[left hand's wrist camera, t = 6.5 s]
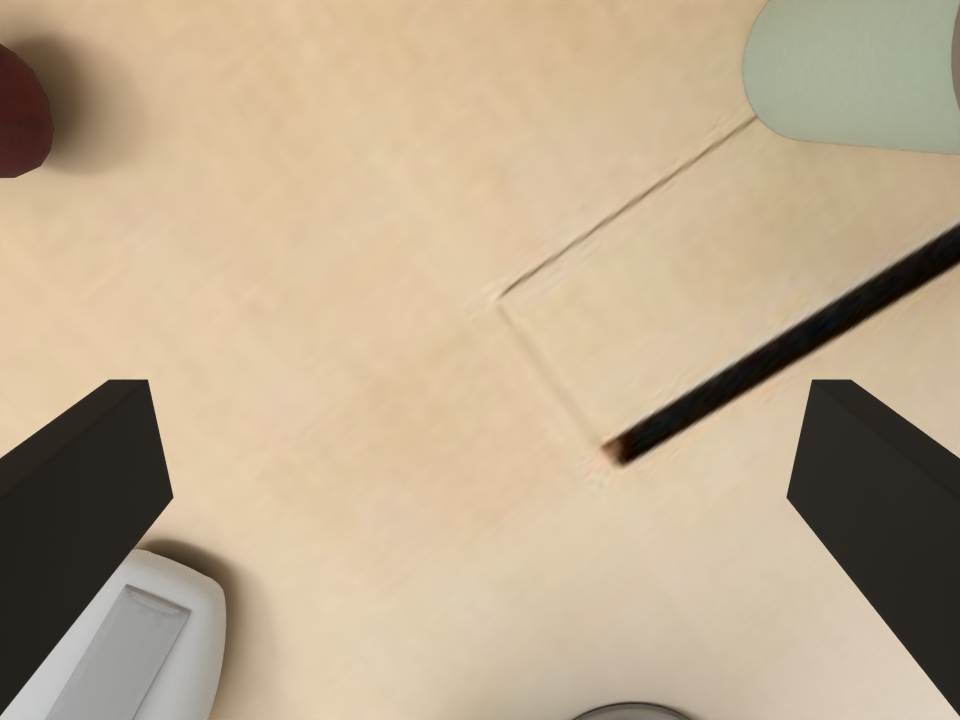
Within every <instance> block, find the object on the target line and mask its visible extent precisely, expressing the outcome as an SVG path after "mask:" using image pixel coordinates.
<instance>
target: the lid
mask: <svg viewBox="0 0 960 720" xmlns="http://www.w3.org/2000/svg"><path fill="white" fill-rule="evenodd" d="M951 71H952V80H953V89H954V93H955V97H956V100H957V104H958V108H959V110H960V3H959V7H958V10H957V14H956V18H955V23H954V30H953V37H952V45H951Z"/></svg>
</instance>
